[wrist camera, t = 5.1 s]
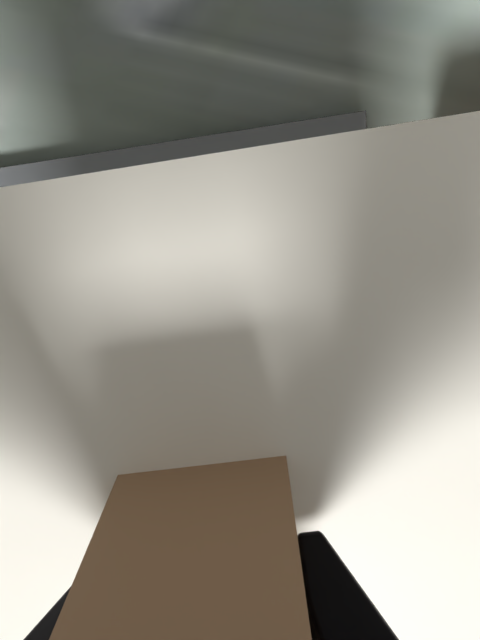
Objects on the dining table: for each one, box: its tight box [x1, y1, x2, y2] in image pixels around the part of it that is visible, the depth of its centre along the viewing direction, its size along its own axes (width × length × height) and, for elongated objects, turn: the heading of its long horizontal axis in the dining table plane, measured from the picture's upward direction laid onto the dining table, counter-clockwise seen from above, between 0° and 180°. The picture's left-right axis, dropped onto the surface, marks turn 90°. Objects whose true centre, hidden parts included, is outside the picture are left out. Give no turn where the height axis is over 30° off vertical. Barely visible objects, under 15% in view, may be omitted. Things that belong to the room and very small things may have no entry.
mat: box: [0, 111, 366, 187], centre depth 18 cm, size 15×15×1 cm
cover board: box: [0, 111, 480, 640], centre depth 7 cm, size 13×13×4 cm
